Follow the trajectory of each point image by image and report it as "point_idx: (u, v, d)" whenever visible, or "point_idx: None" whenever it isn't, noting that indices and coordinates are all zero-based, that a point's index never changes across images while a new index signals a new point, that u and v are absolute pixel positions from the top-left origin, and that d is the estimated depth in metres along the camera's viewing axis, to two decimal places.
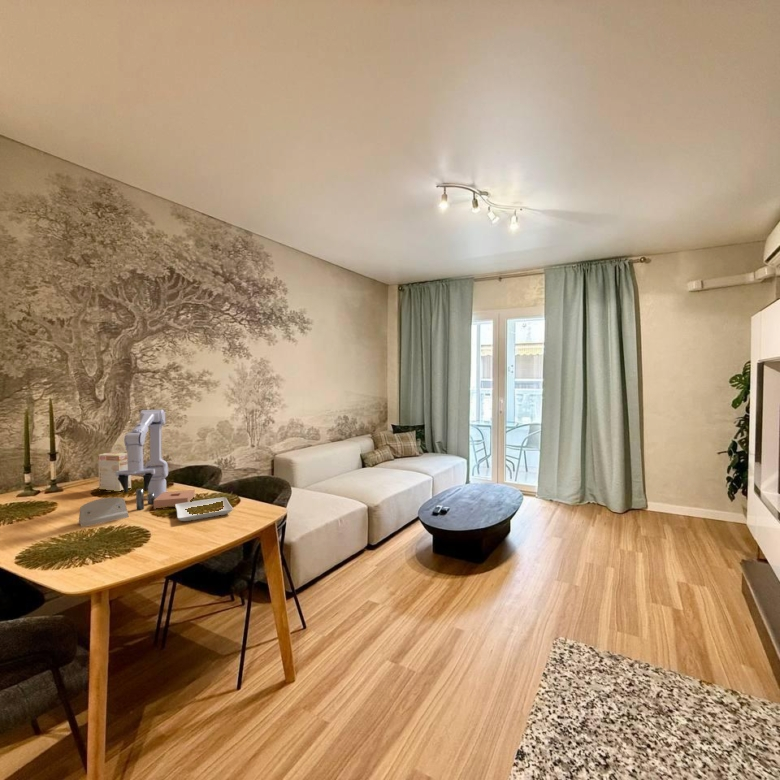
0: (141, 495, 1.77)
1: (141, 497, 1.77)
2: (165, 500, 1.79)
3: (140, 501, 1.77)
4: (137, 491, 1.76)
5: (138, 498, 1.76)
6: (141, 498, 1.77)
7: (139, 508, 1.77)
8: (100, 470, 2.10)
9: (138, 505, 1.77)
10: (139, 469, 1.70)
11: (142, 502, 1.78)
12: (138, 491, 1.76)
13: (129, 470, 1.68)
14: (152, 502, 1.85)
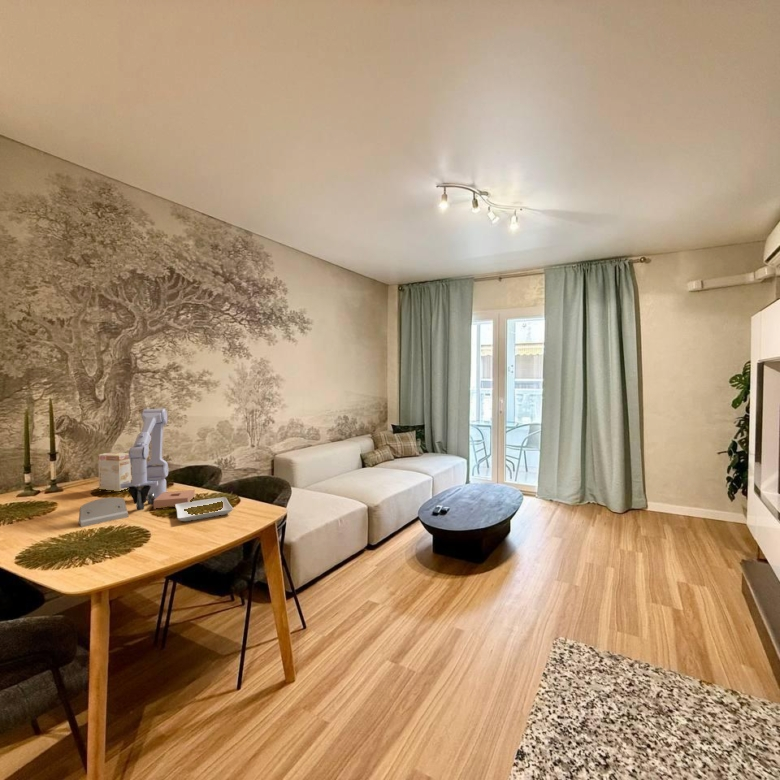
0: (141, 495, 1.77)
1: (141, 497, 1.77)
2: (165, 500, 1.79)
3: (140, 501, 1.77)
4: (137, 491, 1.76)
5: (138, 498, 1.76)
6: (141, 498, 1.77)
7: (139, 508, 1.77)
8: (100, 470, 2.10)
9: (138, 505, 1.77)
10: (143, 481, 1.76)
11: (142, 502, 1.78)
12: (138, 491, 1.76)
13: (133, 482, 1.75)
14: (152, 502, 1.85)
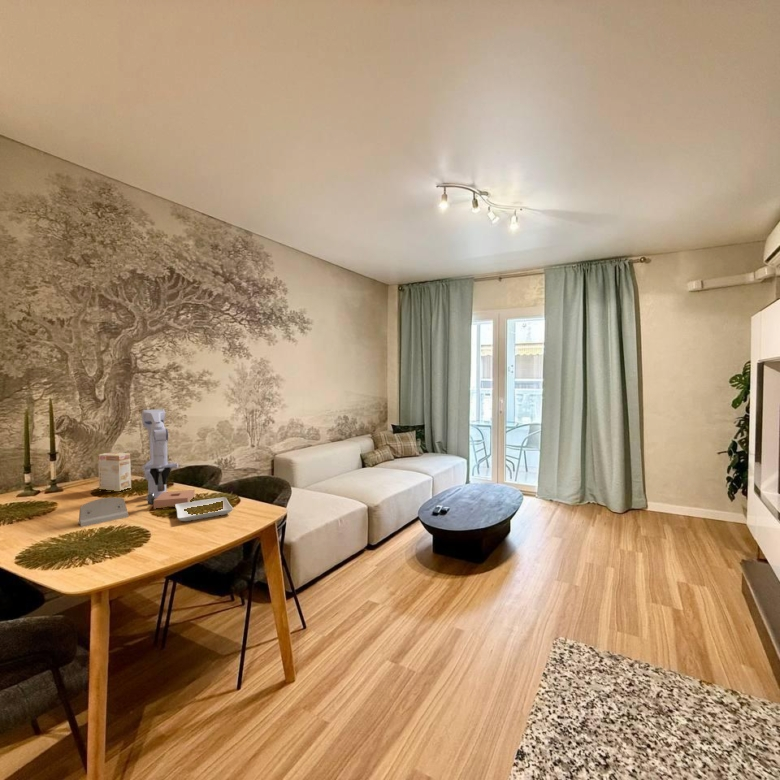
0: (162, 477, 1.82)
1: (162, 479, 1.82)
2: (165, 500, 1.79)
3: (161, 483, 1.82)
4: (158, 473, 1.81)
5: (159, 480, 1.81)
6: (162, 480, 1.82)
7: (160, 490, 1.81)
8: (100, 470, 2.10)
9: (159, 486, 1.81)
10: (164, 463, 1.81)
11: (163, 484, 1.82)
12: (159, 473, 1.81)
13: (155, 464, 1.80)
14: (152, 502, 1.85)
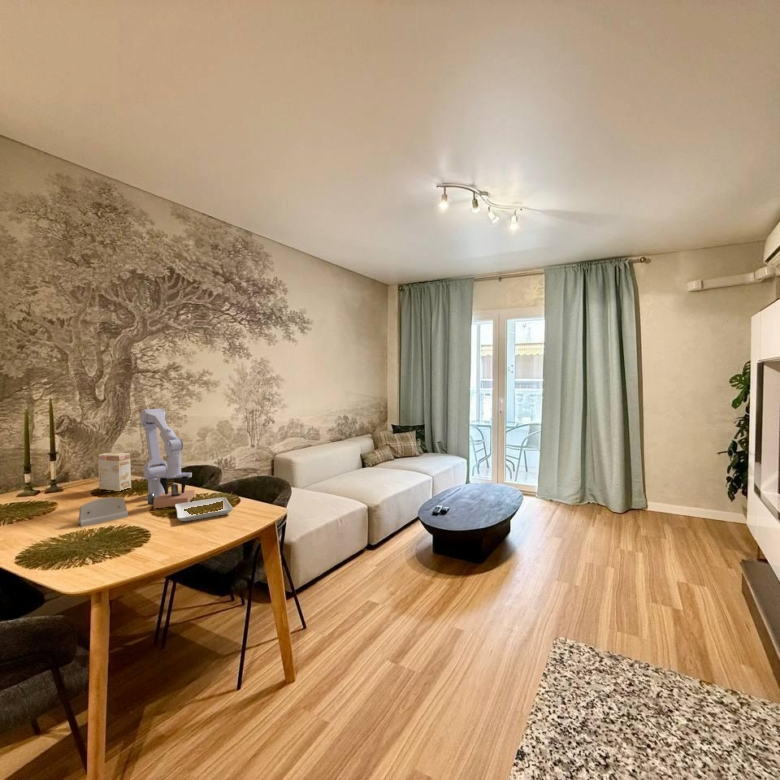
0: (176, 490, 1.85)
1: (176, 492, 1.85)
2: (165, 500, 1.79)
3: None
4: (172, 486, 1.85)
5: (173, 493, 1.85)
6: (176, 493, 1.85)
7: None
8: (100, 470, 2.10)
9: None
10: (178, 473, 1.85)
11: None
12: (173, 486, 1.85)
13: (169, 474, 1.83)
14: (152, 502, 1.85)
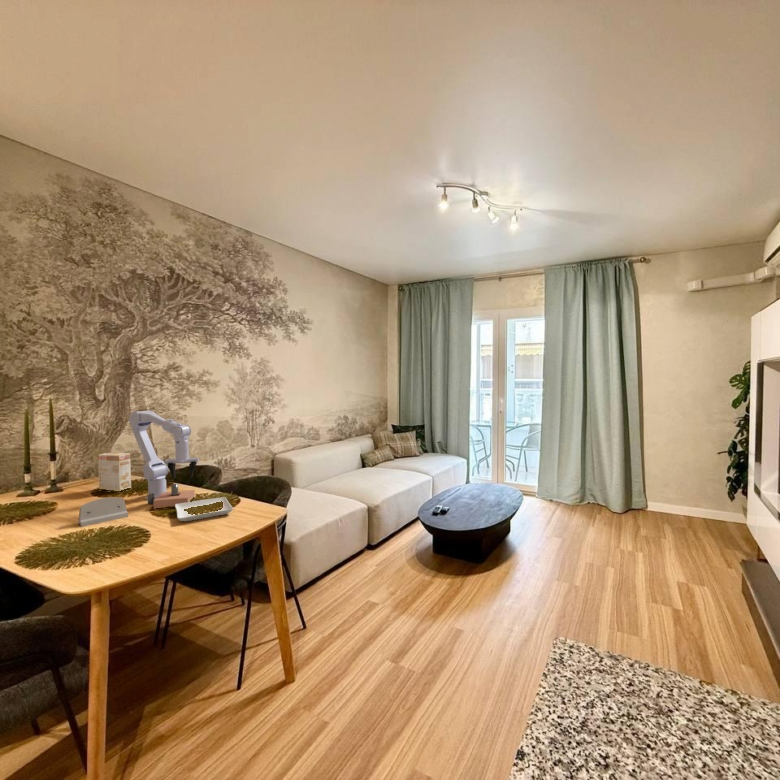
0: (176, 490, 1.85)
1: (176, 492, 1.85)
2: (165, 500, 1.79)
3: None
4: (172, 486, 1.85)
5: (173, 493, 1.85)
6: (176, 493, 1.85)
7: None
8: (100, 470, 2.10)
9: None
10: (186, 458, 1.91)
11: None
12: (173, 486, 1.85)
13: (177, 459, 1.90)
14: (152, 502, 1.85)
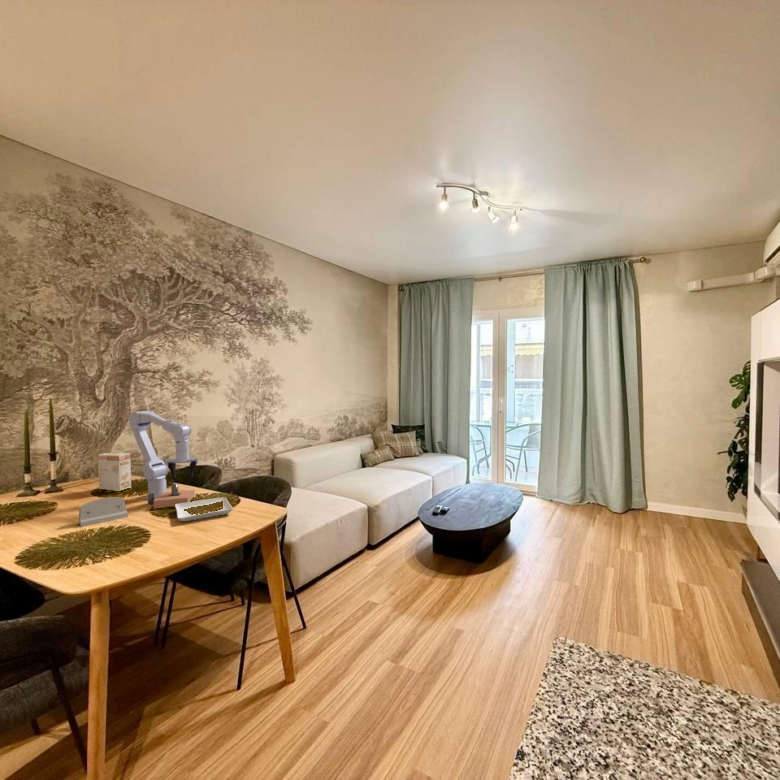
0: (176, 490, 1.85)
1: (176, 492, 1.85)
2: (165, 500, 1.79)
3: None
4: (172, 486, 1.85)
5: (173, 493, 1.85)
6: (176, 493, 1.85)
7: None
8: (100, 470, 2.10)
9: None
10: (186, 458, 1.92)
11: None
12: (173, 486, 1.85)
13: (177, 458, 1.90)
14: (152, 502, 1.85)
